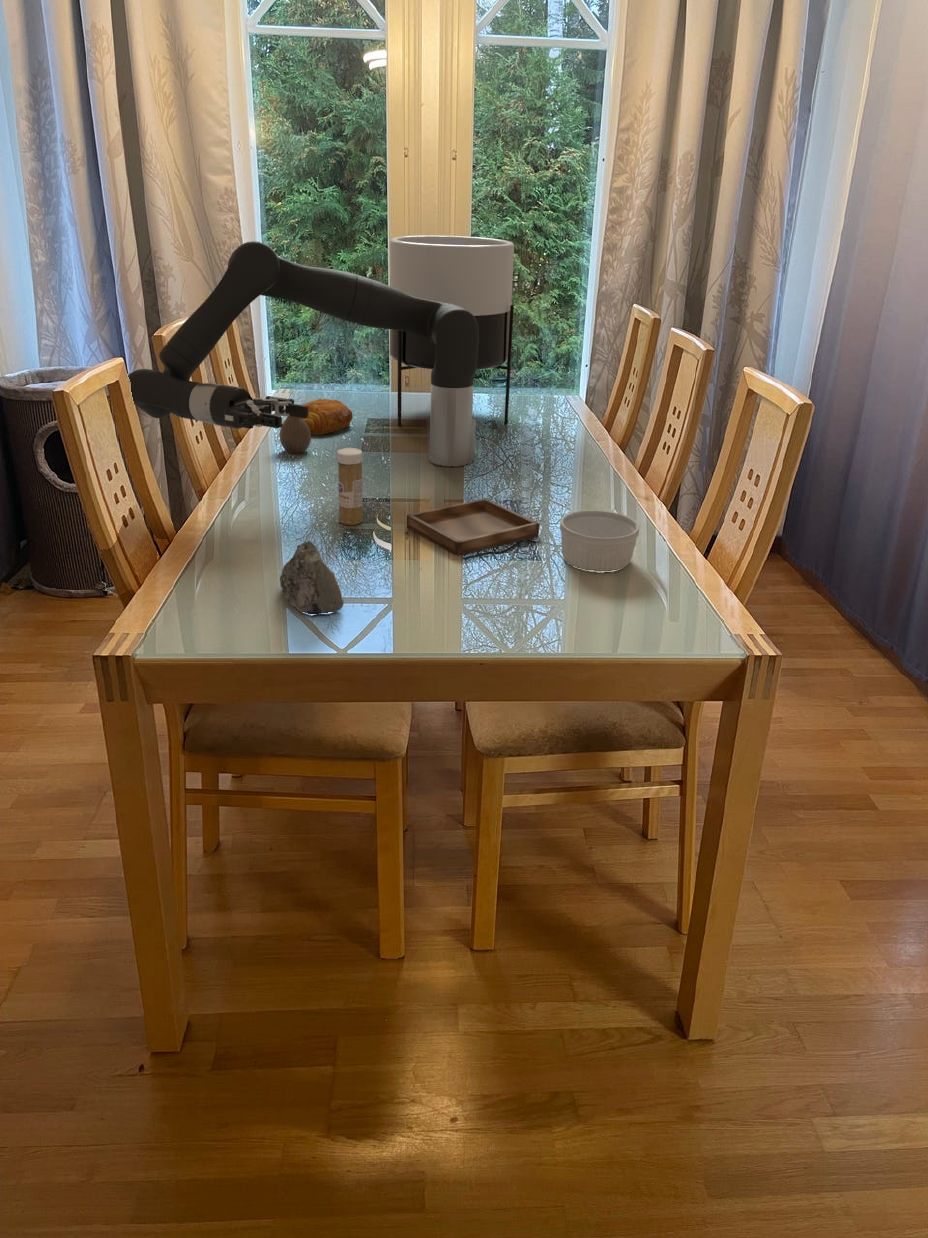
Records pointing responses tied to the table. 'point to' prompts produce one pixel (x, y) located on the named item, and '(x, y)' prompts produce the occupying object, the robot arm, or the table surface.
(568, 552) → the ramekin
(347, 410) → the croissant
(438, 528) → the walnut tray
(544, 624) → the table surface
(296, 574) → the mineral rock
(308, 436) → the vase
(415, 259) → the planter
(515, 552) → the table surface
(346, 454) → the sprinkles bottle
